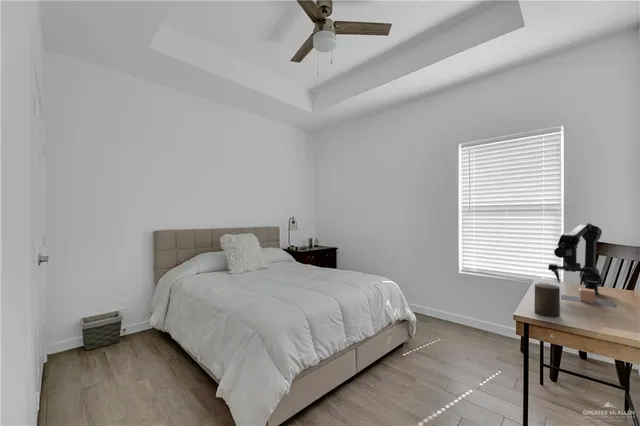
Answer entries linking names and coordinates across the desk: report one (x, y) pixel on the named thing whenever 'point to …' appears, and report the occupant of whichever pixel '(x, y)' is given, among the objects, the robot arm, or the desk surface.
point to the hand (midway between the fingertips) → (569, 284)
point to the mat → (597, 302)
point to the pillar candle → (547, 300)
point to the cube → (587, 295)
